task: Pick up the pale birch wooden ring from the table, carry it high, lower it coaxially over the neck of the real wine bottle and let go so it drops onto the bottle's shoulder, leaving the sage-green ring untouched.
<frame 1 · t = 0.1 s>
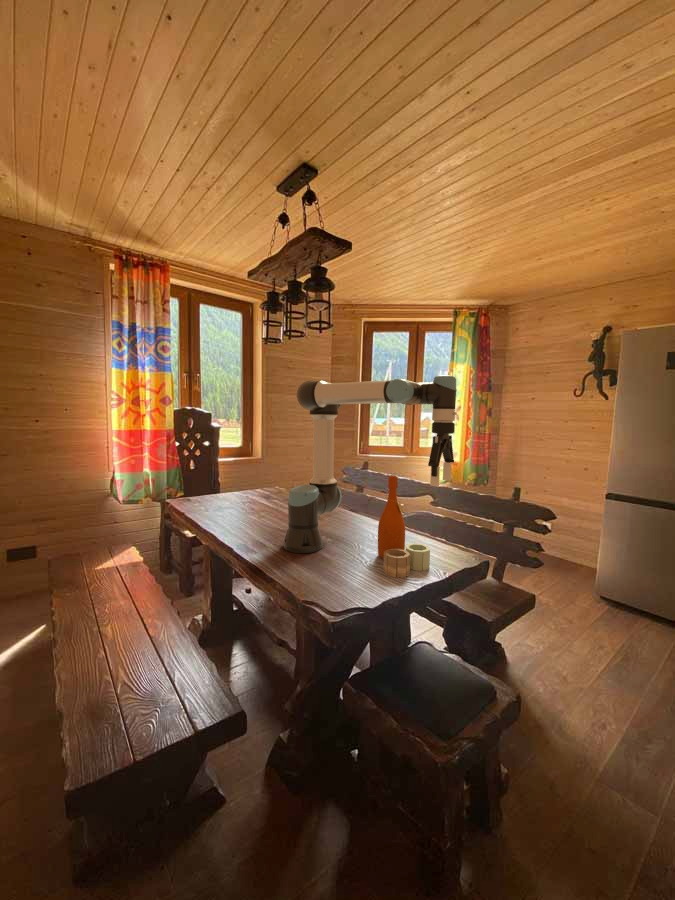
hand: (440, 483, 129), 28 cm above the table, fingers open, 13 cm apart
birch ring: (396, 572, 122), on the table
sage ring: (417, 565, 128), on the table
wine bottle: (390, 557, 136), on the table
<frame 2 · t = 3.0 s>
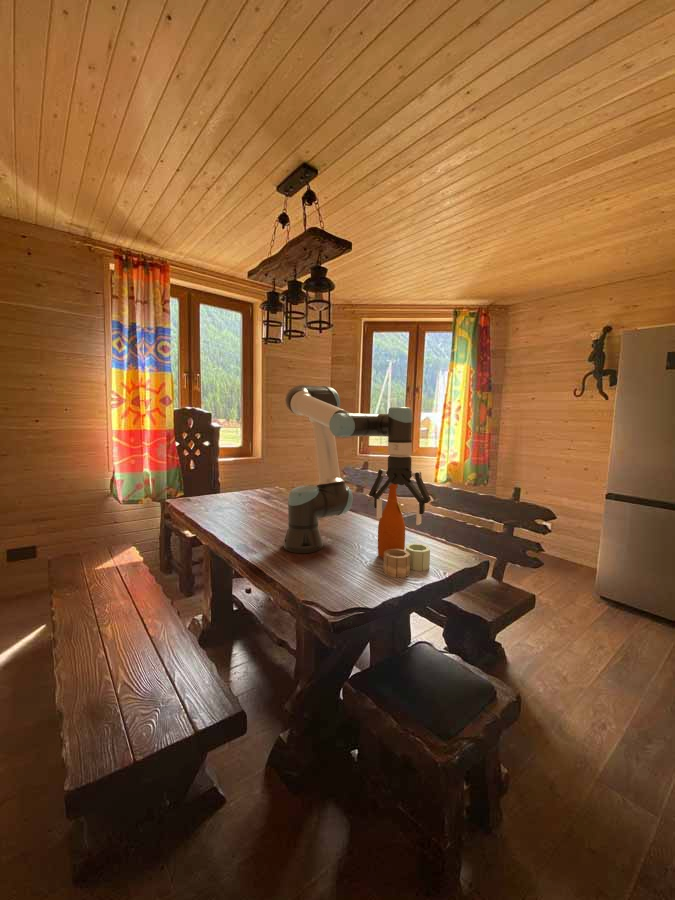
hand: (398, 521, 121), 17 cm above the table, fingers open, 13 cm apart
nothing on the table moved.
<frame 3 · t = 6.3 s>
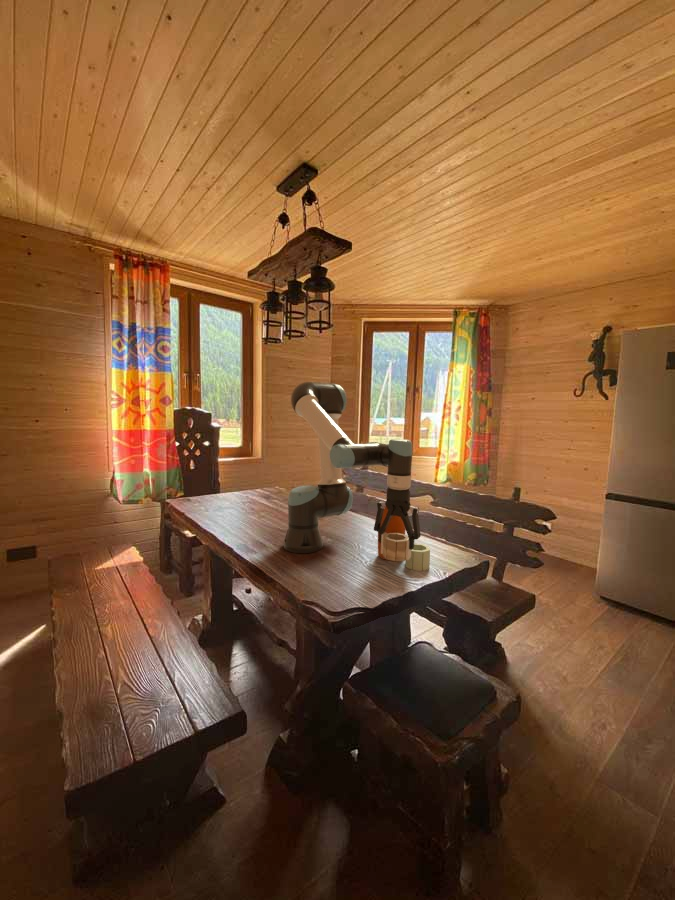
hand: (395, 555, 122), 6 cm above the table, fingers closed on birch ring, 8 cm apart
birch ring: (395, 556, 122), point 5 cm above the table, touching gripper
everything else where it was.
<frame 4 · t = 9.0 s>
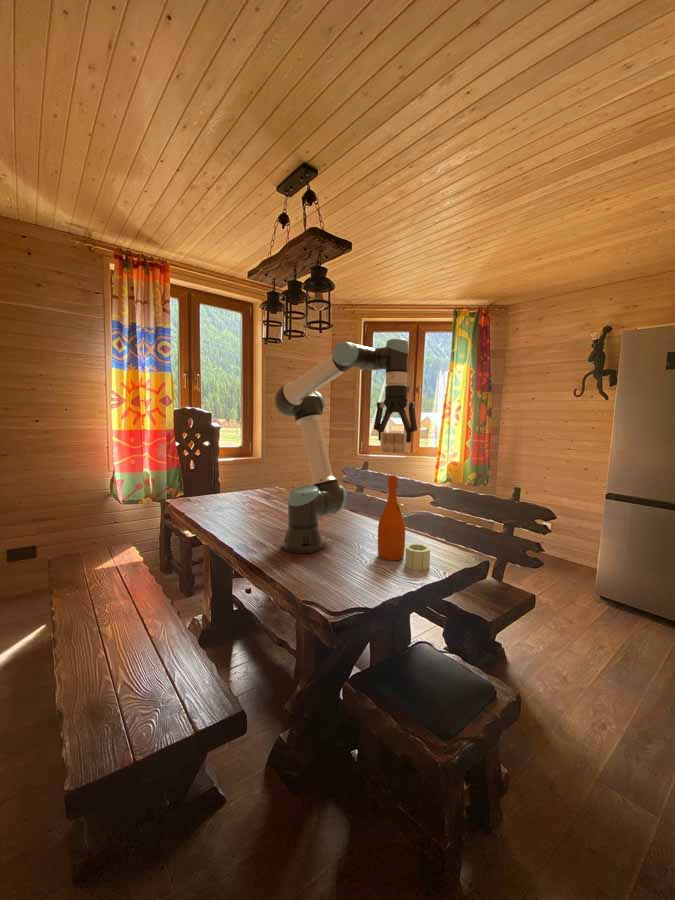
hand: (394, 450, 131), 39 cm above the table, fingers closed on birch ring, 8 cm apart
birch ring: (394, 451, 131), point 39 cm above the table, touching gripper
everything else where it was.
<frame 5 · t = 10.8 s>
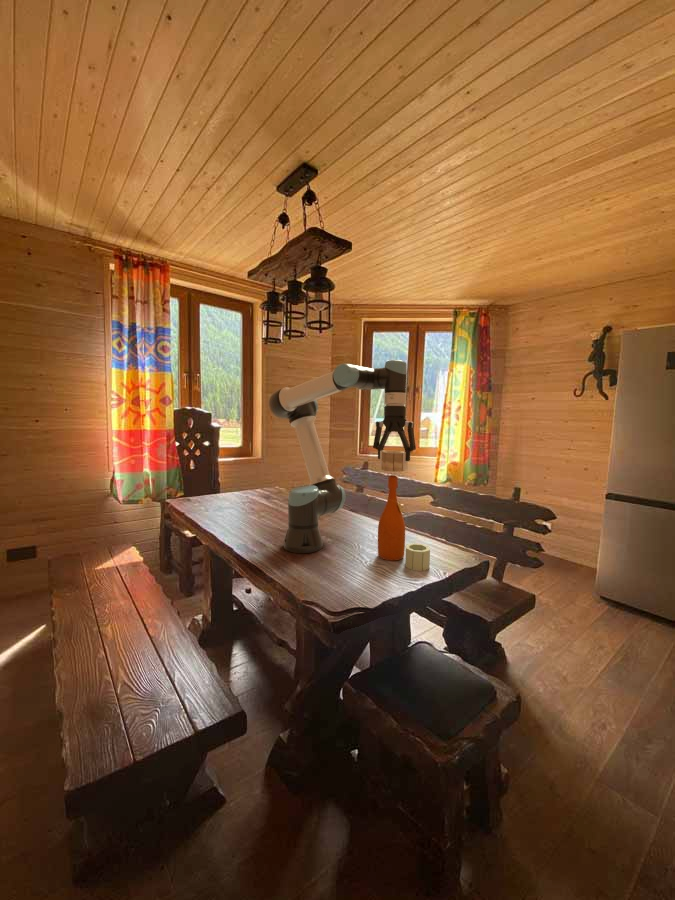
hand: (393, 469, 133), 32 cm above the table, fingers closed on birch ring, 8 cm apart
birch ring: (393, 469, 133), point 32 cm above the table, touching gripper
everything else where it was.
when the fingers open (28 cm above the table, at t = 12.2 s): birch ring drops 8 cm, resting on wine bottle.
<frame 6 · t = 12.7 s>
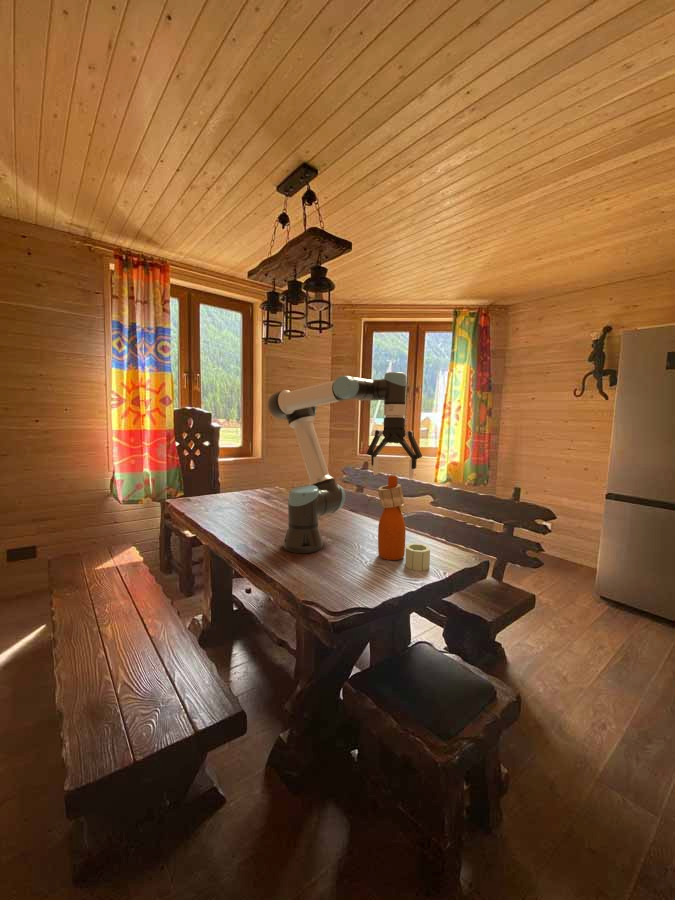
hand: (392, 476, 134), 30 cm above the table, fingers open, 13 cm apart
birch ring: (392, 504, 135), point 19 cm above the table, tilted 12°, touching wine bottle
wine bottle: (391, 557, 136), on the table, touching birch ring
everything else where it was.
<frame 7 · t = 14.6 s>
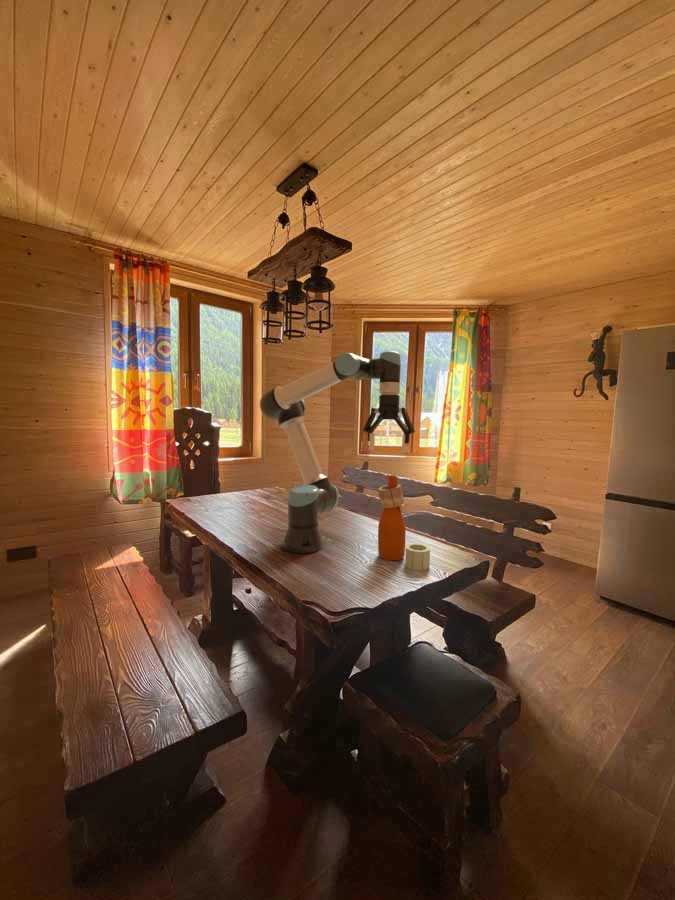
hand: (387, 451, 141), 38 cm above the table, fingers open, 13 cm apart
nothing on the table moved.
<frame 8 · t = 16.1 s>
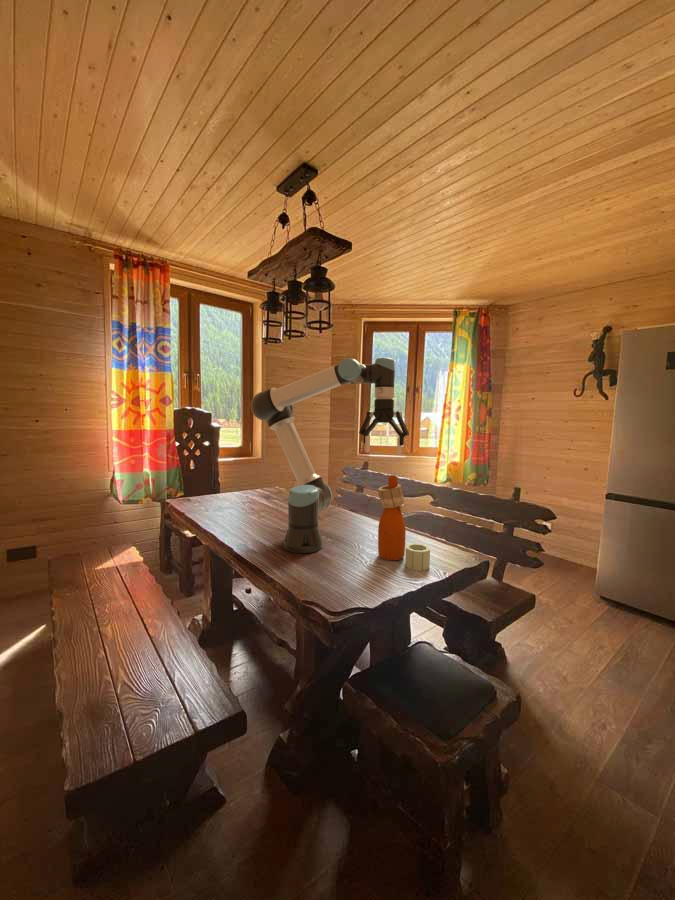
hand: (382, 453, 147), 37 cm above the table, fingers open, 13 cm apart
nothing on the table moved.
at the end: birch ring 0.1 cm from the wine bottle (horizontally); birch ring point 19.4 cm above the table; wine bottle tilted 0° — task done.
